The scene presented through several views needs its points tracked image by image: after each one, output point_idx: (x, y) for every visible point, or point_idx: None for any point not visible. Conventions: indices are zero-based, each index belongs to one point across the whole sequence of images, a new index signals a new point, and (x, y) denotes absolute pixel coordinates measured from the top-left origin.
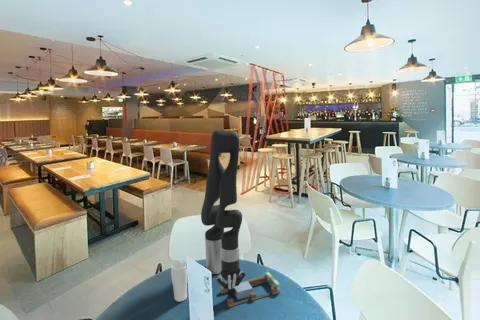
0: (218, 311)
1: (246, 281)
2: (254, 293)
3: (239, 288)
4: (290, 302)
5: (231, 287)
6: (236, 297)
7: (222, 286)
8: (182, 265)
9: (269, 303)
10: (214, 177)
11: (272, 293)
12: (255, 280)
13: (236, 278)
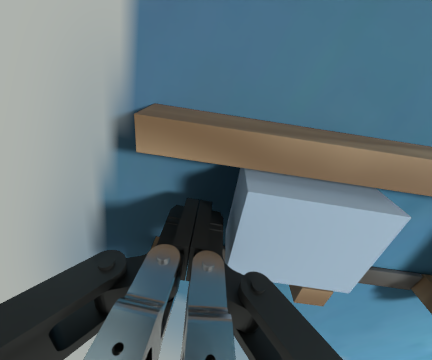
0: (97, 247)
1: (414, 178)
2: (321, 299)
3: (266, 255)
4: (406, 335)
5: (191, 267)
6: (228, 220)
7: (153, 121)
8: None
9: (337, 308)
10: None
11: (416, 287)
12: None
13: (273, 337)
